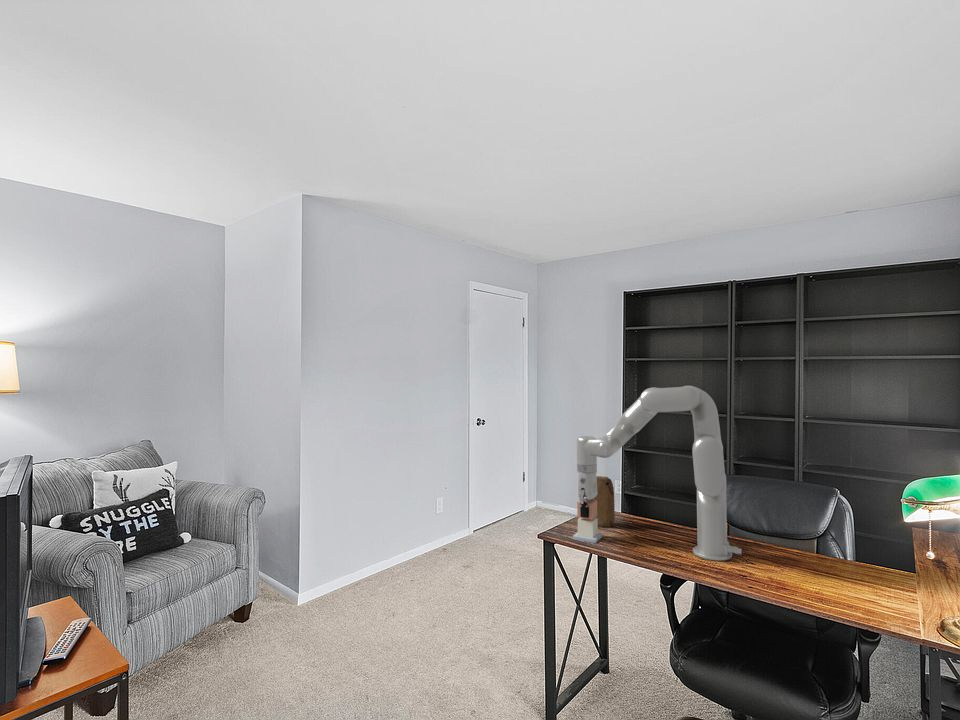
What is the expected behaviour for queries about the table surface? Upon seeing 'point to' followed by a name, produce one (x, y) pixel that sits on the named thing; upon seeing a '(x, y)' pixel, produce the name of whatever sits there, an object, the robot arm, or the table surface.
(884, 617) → the table surface
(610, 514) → the block
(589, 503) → the terracotta brick
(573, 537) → the plate
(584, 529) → the cream brick
